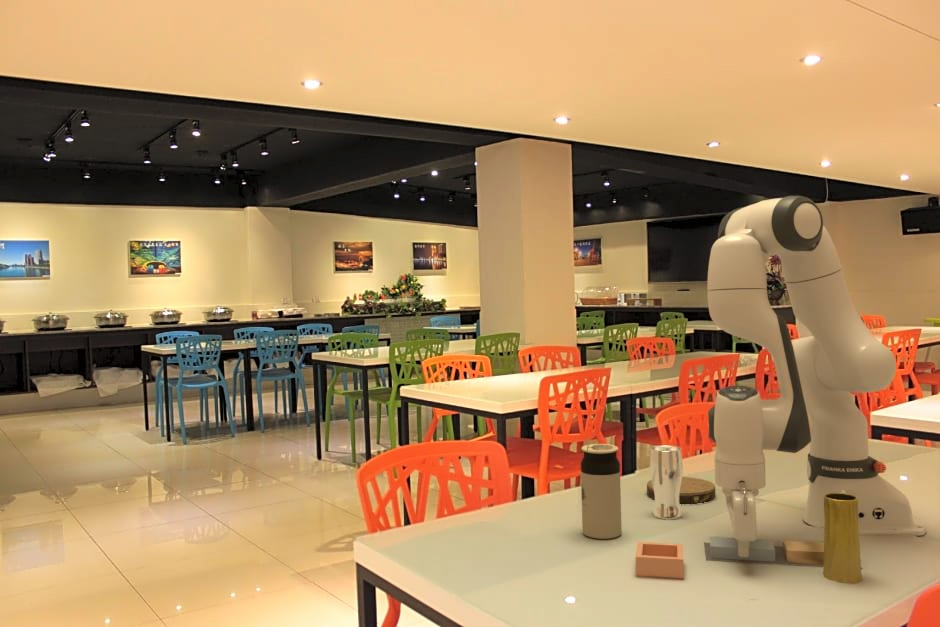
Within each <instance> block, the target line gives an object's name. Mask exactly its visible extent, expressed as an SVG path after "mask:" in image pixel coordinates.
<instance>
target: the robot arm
mask: <svg viewBox="0 0 940 627" xmlns="http://www.w3.org/2000/svg"><path fill="white" fill-rule="evenodd" d="M717 230H718V232H717V239H716V240H715V241H714V243H713V244H712V246H711V249H710V254H709V260H708V270H707V286H706V287H707V288H706V290H707V303H708V304H707V305H708V312H709V316H710V318H711V320H712V322H713V323H714V324H715V325H716V326H717V327H718V328H719V329H721V330H722V331H723V332H725V333H726V334H730V335H731V336H734V337H737V338H739V339H742V340H746V341H749V342H750V343H751V342H752V343H754V344H757V345H758V346H760V347H762V348H764V349H765V350H766V351H767V352H768V353H769V354H770V355H771V358H772V360H773V363H774V368H775V374H776V378H777V382H778V388H779V391H780V396H779V397H778V398H776V399H762V398H761V394H760V392H759V390H758V389H756V388H753V387H750V386H747V385H730V386H725V387H722V388H720V389H719V390H718V391H717V392H716V397H715V398H716V399H715V402H714V405H713V406H712V407H710V409H708V412H707V415H708V416H707V418H708V437H709V439H710V440H711V441H712V442H714V444H715V445H716V447H715V448H716V450H715V452H714V483H715V486H718V487H720V488H721V491H722V494H723V495H724V496H725V502H726V507H727V511H728V515H729V520H730V523H731V526H732V533H733V536H734V538H735V539H736V540H737V542H738V555H739V556H740V557H748V556H749V543H750V541H755V540H756V539H757V532H758V530H757V511H756V510H757V508H756V507H757V506H756V500H755V497H757V496H758V495H759V490H762V489H763V488H765V487H766V484H767V483H766V479H767V478H766V457H765V454H764V450H765V451H767V450H768V451H776V452H783V453H789V454H790V453H791V454H797V453H798V452H801V451H802V450H803V449H805V447H807V446H808V445H809V452H808V454H807V460H806V461H807V462H806V466H807V468H806V472H807V478H808V481H809V482H808V491H807V492H808V493H807V500H806V505H805V509H804V513H803V516H802V520H803V521H804V523H806V524H808V525H810V526H811V527H819V528H823V529H824V494H827V493H847V494H852V495H855V496H857V498H858V523H859V535H911V534H912V535H913V534H914V535H915V536H919V537H920V536H924V535H925V534H926V533H927V529H926V525H925V523H924V522H923V521H922V520H921V519H920V518H918V517H916V515H913V510H912V506H911V503H910V500H909V499H908V497H907V496H906V494H904V493H903V492H902V491H900V490H899V489H898V488H897V487H895V486H894V485H893V484H892V483H890V481H887V479H884V478H883V477H882V476H881V475H879V474H883V473H886V471H887V466H886V465H885V463H883V462H882V461H879V460H877V459H875V458H873V457H871V456H870V455H869V422H868V419H867V417H866V416H865V414H864V413H863V412H862V411H861V410H860V409H859V408H858V406H857V404H856V403H855V401H854V398H853V397H852V396H853V395H852V394H851V393H856V394H863V393H864V394H865V393H867V394H868V393H873V392H880V391H883V390H884V389H886V388H888V387H889V386H890V385H891V383H892V382H893V380H894V379H895V375H896V374H897V360H896V358H895V355H894V353H893V352H892V351H891V349H890V348H888V346H886V345H884V343H882V342H880V341H879V340H878V338H876V337H875V336H874V334H872V332H871V331H870V329H869V328H868V327H867V326H866V324H865V323H864V321H863V319H862V318H861V317H860V315H859V312H858V311H857V309H856V307H855V305H854V304H853V300H852V297H851V295H850V291H849V288H848V285H847V281H846V277H845V274H844V270H843V267H842V263H841V260H840V257H839V254H838V251H837V248H836V246H835V243H834V241H833V240H832V237H831V235H830V234H829V232H828V230H827V228H826V227H825V226H824V219H823V215H822V213H821V210H820V208H819V207H818V206H817V204H816V203H815V202H814V201H813V200H812V199H810V198H809V197H806V196H802V195H788V196H785V197H779V198H778V197H777V198H770V199H765V200H761V201H759V202H757V203H753V204H749V205H747V206H744V207H743V206H741V207H738V208H736V209H733V210H731V211H729V212H728V213H727V214H726V215H725V216H723V218H722V219H721V221H720V224H719V227H718V229H717ZM772 256H777V257H778V259H779V260H780V264H781V270H782V274H783V279H784V283H785V286H786V290H787V293H788V297H789V302H790V304H791V308H792V313H793V315H794V316H795V318H796V320H797V321H798V322H799V323H801V324H802V325H803V326H805V328H806V329H807V330H808V331H809V332H810V334H811V335H810V336H805V337H802V338H801V337H800V338H798V339H796V340H794V341H792V338H791V335H790V334H791V333H790V329H789V327H788V325H787V322H786V320H785V319H784V317H783V316H782V315H779V314H776V312H775V311H774V309H773V307H772V306H771V303H770V300H769V298H768V288H767V287H768V285H767V284H768V282H767V270H766V264H767V260H768V258H769V257H772Z"/></svg>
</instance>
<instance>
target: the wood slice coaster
mask: <svg viewBox="0 0 940 627" xmlns="http://www.w3.org/2000/svg"><path fill="white" fill-rule="evenodd" d="M646 495H647V497H648V498H649V499H650V500H652V499H653V500H652V501H655V495H654V489H653V484H652V479H650V480H648V481H647V482H646ZM714 498H716V484H714V483H713V482H712V481H709V480H707V479H703V478H697V477H691V476H682V483H681V489H680V498H679V501H680V504H681V505H680V506H683V505H682V504H695V505H698V504H697V503H703V504H705V503H704V502H708V503H710V502H709V501H711V500H713V499H714ZM714 500H715V499H714ZM714 500H713V501H714ZM711 502H712V501H711Z"/></svg>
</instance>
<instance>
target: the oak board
mask: <svg viewBox="0 0 940 627" xmlns="http://www.w3.org/2000/svg"><path fill="white" fill-rule="evenodd" d="M782 546H783V553H784V556H785V558H786V560H787V562H788V563H806V564H823V558H824V541H823V542H822V541H806V540H805V541H801V540H782Z"/></svg>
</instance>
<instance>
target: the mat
mask: <svg viewBox="0 0 940 627" xmlns="http://www.w3.org/2000/svg"><path fill="white" fill-rule="evenodd" d="M703 547H704V555H705V556H704V557H705V561H708V562H709V561H711V562H724V563H742V564H743V563H744V564H757V565H758V564H760V565H761V564H762V565H763V564H764V565H777V566H778V565H781V566H795V567H797V566H798V567H813V568H815V567H816V568H823V564H806V563H788V562H787V560H786V558H785V556H784V553H783V545H782V546H780V545H774V548H775V562H771V561H753V560H735V559H717V558H711V552H710V542H707V541H706V542H705V541H704V542H703ZM861 570H863V567H861Z"/></svg>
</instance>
